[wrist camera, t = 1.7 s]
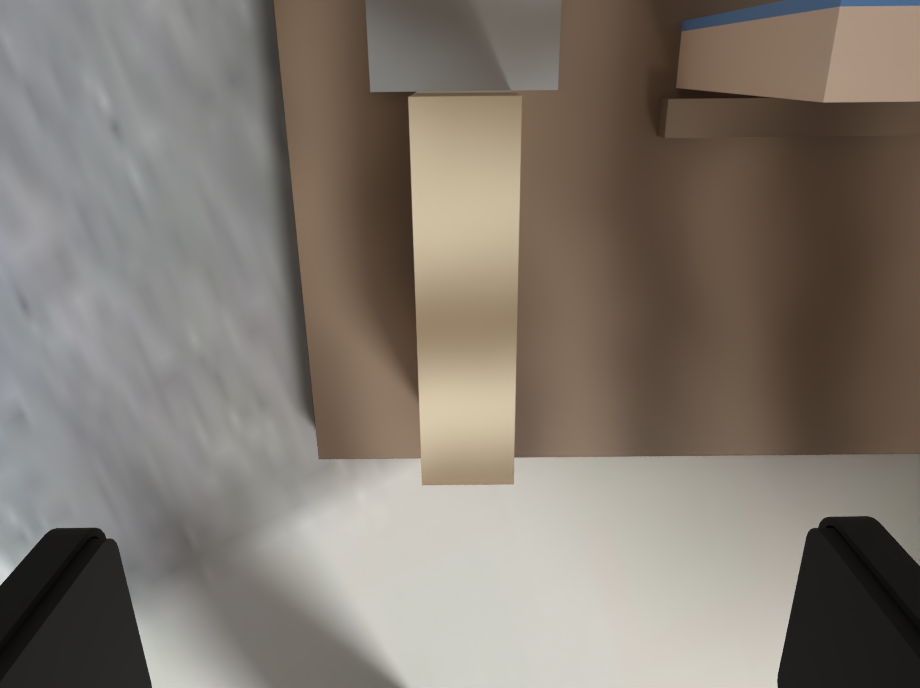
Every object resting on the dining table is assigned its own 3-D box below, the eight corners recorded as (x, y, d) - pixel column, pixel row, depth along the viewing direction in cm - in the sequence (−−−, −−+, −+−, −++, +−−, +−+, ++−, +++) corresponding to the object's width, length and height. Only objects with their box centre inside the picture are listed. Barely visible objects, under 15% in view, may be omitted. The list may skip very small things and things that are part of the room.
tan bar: (361, -123, 21) (333, -177, 16) (562, -125, 21) (592, -181, 16) (390, 414, 27) (376, 485, 23) (542, 413, 27) (559, 483, 23)
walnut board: (1216, -565, 18) (1325, -657, 16) (937, 434, 29) (978, 466, 27) (232, -552, 18) (200, -640, 16) (325, 440, 30) (314, 472, 27)
